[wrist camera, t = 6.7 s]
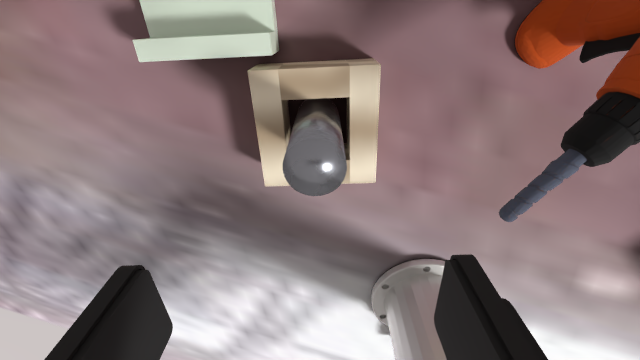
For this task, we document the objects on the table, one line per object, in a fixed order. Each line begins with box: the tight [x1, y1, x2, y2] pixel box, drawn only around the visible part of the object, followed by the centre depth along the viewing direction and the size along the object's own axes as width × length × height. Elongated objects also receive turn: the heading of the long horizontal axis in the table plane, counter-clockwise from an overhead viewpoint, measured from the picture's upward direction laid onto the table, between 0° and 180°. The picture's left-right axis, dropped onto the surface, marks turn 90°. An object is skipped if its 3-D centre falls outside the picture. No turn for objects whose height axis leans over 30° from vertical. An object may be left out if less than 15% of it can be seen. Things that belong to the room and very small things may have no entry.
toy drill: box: [499, 0, 640, 222], centre depth 19 cm, size 5×19×15 cm, turn 139°
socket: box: [248, 58, 381, 187], centre depth 27 cm, size 10×10×4 cm
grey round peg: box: [283, 98, 347, 196], centre depth 24 cm, size 4×4×11 cm
